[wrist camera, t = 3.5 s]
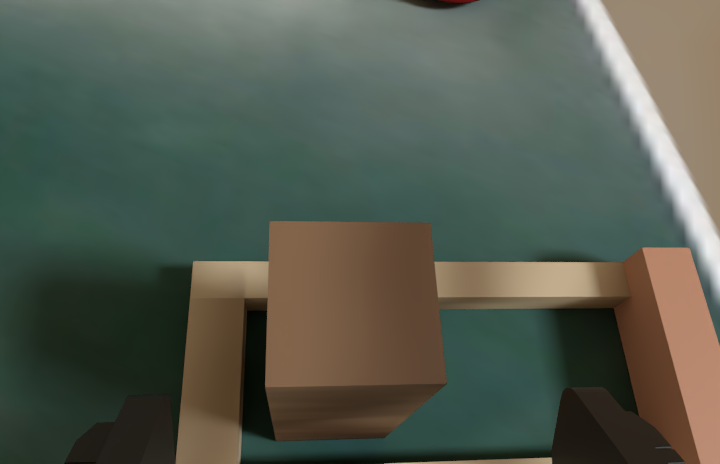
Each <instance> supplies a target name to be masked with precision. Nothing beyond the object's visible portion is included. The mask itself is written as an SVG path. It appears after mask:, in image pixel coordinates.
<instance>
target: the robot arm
mask: <svg viewBox="0 0 720 464" xmlns="http://www.w3.org/2000/svg"><path fill="white" fill-rule="evenodd" d="M65 464H175V450H174V436H173V423H172V409H171V400H170V396H169V395H168V394H162V395H129V396H128V397H127V398H126V400H125V402H124V404H123V406H122V409H121V411H120V413H119V415H118V417H117V419H116V421H115V422H105V423H96V424H95V425H94V426H93V427H92V428H91V429H90V430H88V431H87V432H86V433H85V434H84V435H83V436H81V437H80V438H79V439H78V440H77V441H76V442H75V444H74V446H73V448H72V450H71V451H70V453H69V455H68V457H67V459H66V461H65ZM552 464H685V461H684V460H683V459H682V458H681V456H680V455H679V454H678V453H677V452H676V451H675V450H674V449H671V445H670V444H669V443H668V442H667V440H666V439H665V438H664V437H663V436H662V435H661V434H660V432H659V431H658V430H657V429H656V428H655V427H654V426H652V425H651V424H649V423H648V422H647V421H645V420H644V419H642V418H641V417H639V416H638V415H636V414H635V413H633V412H632V411H624V410H623V408H622V407H621V406H620V405H619V404H618V402H617V401H616V400H615V399H614V398H613V396H612V395H611V394H610V393H609V392H608V391H607V390H606V389H605V388H603V387H580V388H566V389H565V390H564V391H563V393H562V396H561V401H560V406H559V412H558V417H557V423H556V428H555V434H554V439H553V445H552Z"/></svg>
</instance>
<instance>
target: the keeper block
mask: <svg viewBox="0 0 720 464" xmlns="http://www.w3.org/2000/svg"><path fill="white" fill-rule="evenodd" d="M446 384H447V380H446V370H445V360H444V351H443V341H442V331H441V322H440V312H439V302H438V292H437V283H436V273H435V263H434V253H433V244H432V234H431V224H430V223H395V222H298V221H270V232H269V267H268V303H267V338H266V373H265V389H266V394H267V399H268V404H269V409H270V414H271V419H272V424H273V429H274V434H275V438H276V441H304V440H337V439H370V438H385V437H386V436H387V435H388V434H389V433H390V432H392V431H393V430H394V429H395V428H396V427H397V426H399V425H400V424H401V423H402V422H403V421H404V420H405V419H407V418H408V417H409V416H410V415H411V414H412V413H414V412H415V411H416V410H417V409H418V408H419V407H420V406H422V405H423V404H424V403H425V402H426V401H427V400H429V399H430V398H431V397H432V396H433V395H434V394H435V393H437V392H438V391H439V390H440V389H441V388H442V387H444V386H445V385H446Z"/></svg>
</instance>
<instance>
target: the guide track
mask: <svg viewBox="0 0 720 464" xmlns="http://www.w3.org/2000/svg"><path fill="white" fill-rule="evenodd" d="M434 263H435V273H436V283H437V292H438V302H439V309H559V308H614V312H615V316H616V320H617V324H618V329H619V333H620V337H621V341H622V346H623V350H624V354H625V358H626V363H627V367H628V371H629V375H630V380H631V384H632V388H633V392H634V396H635V401H636V405H637V409H638V413H639V417H641V418H642V419H644V420H645V421H647V422H648V423H649V424H651V425H652V426H654V427H655V428H656V429H657V430H658V431H659V432H660V434H661V435H662V436H663V437H664V438H665V439H666V440H667V442H668V443H669V444H670V445H671V449H674V450H675V451H676V452H677V453H678V454H679V455H680V456H681V458H682V459H683V460H684V461H685V464H720V346H719V343H718V339H717V336H716V333H715V330H714V326H713V323H712V320H711V317H710V313H709V310H708V307H707V304H706V300H705V297H704V294H703V291H702V287H701V284H700V281H699V278H698V274H697V271H696V268H695V265H694V261H693V258H692V255H691V252H690V248H641V249H640V250H638V251H637V252H636V253H634V254H633V255H632V256H631V257H629V258H628V259H627V260H625V261H624V262H434ZM268 267H269V262H258V261H193V271H192V282H191V294H190V305H189V316H188V328H187V339H186V351H185V362H184V373H183V385H182V396H181V408H180V419H179V430H178V442H177V453H176V464H240V463H241V440H242V417H243V394H244V371H245V348H246V325H247V311H262V310H267V303H268ZM386 464H552V458H526V459H498V460H470V461H442V462H414V463H386Z"/></svg>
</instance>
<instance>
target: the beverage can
mask: <svg viewBox="0 0 720 464" xmlns="http://www.w3.org/2000/svg"><path fill="white" fill-rule="evenodd" d="M439 1H444V2H450V3H468V2H474V1H478V0H439Z"/></svg>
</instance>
